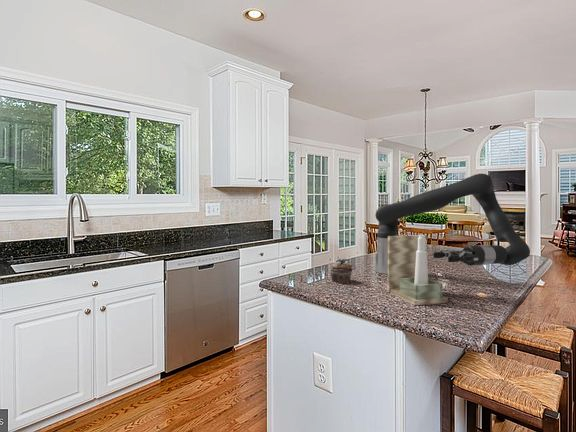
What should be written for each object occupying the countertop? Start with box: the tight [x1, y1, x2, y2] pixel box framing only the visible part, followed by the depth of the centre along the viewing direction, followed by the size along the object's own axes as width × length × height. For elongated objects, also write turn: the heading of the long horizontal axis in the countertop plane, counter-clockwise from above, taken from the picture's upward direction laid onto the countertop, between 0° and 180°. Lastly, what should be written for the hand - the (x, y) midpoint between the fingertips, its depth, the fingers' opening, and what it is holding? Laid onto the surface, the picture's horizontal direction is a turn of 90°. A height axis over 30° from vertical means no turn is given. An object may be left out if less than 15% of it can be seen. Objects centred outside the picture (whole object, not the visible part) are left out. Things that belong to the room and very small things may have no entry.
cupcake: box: [329, 258, 353, 284], centre depth 159 cm, size 10×10×10 cm
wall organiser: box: [386, 234, 448, 306], centre depth 134 cm, size 16×18×22 cm
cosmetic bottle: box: [414, 234, 429, 285], centre depth 131 cm, size 6×6×22 cm
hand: (441, 257), depth 133 cm, fingers open, 8 cm apart
